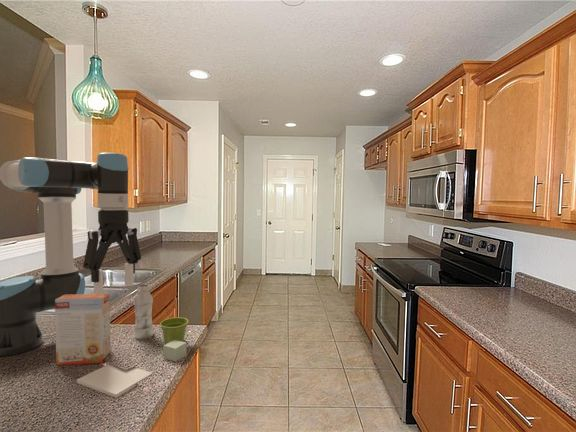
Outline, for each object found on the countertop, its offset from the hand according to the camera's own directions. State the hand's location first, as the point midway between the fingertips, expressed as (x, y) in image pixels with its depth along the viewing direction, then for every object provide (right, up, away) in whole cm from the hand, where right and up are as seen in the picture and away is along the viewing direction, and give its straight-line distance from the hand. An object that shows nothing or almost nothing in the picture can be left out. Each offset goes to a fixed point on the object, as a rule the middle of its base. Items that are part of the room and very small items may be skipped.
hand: (114, 289), depth 94 cm
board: (0, -26, +1) cm, 26 cm away
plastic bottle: (-4, -25, +29) cm, 38 cm away
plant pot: (+9, -25, +23) cm, 36 cm away
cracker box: (-16, -26, +12) cm, 33 cm away
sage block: (+12, -26, +14) cm, 32 cm away
